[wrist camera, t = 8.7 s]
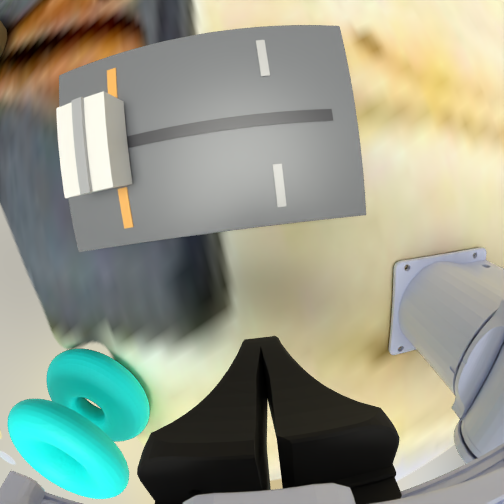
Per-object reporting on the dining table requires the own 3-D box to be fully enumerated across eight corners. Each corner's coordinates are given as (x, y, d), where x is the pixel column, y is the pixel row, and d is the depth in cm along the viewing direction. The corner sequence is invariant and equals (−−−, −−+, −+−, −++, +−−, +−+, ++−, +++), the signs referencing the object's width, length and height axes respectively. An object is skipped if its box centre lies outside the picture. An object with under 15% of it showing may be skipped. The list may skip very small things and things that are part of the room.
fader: (123, 101, 15) (101, 89, 12) (132, 184, 16) (110, 187, 13) (80, 114, 15) (53, 107, 12) (88, 193, 16) (62, 198, 14)
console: (329, 40, 17) (339, 25, 14) (352, 209, 20) (366, 215, 17) (76, 83, 17) (58, 75, 15) (95, 243, 20) (78, 252, 18)
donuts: (143, 514, 15) (41, 487, 15) (165, 429, 25) (78, 420, 25) (86, 432, 13) (-20, 403, 13) (136, 342, 22) (41, 340, 22)
